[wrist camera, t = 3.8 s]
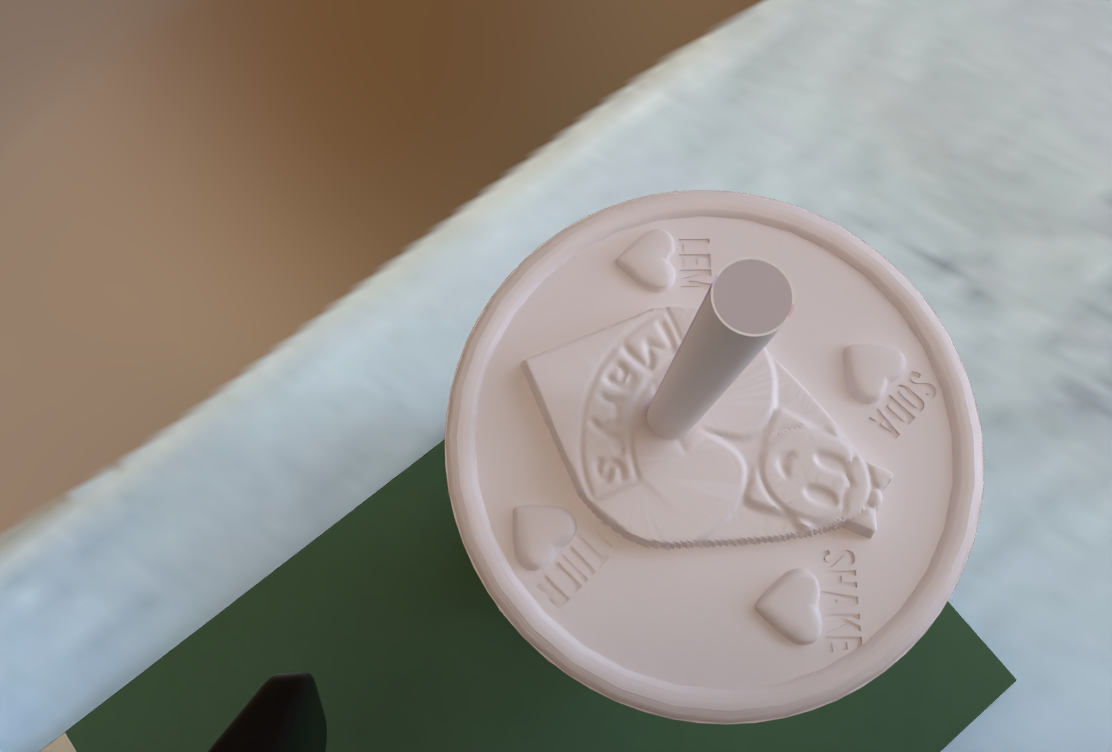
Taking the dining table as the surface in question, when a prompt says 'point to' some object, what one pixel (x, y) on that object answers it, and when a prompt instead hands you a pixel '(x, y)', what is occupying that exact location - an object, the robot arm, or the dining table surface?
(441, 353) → the dining table surface
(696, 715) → the smoothie
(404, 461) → the dining table surface
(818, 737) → the cloth
